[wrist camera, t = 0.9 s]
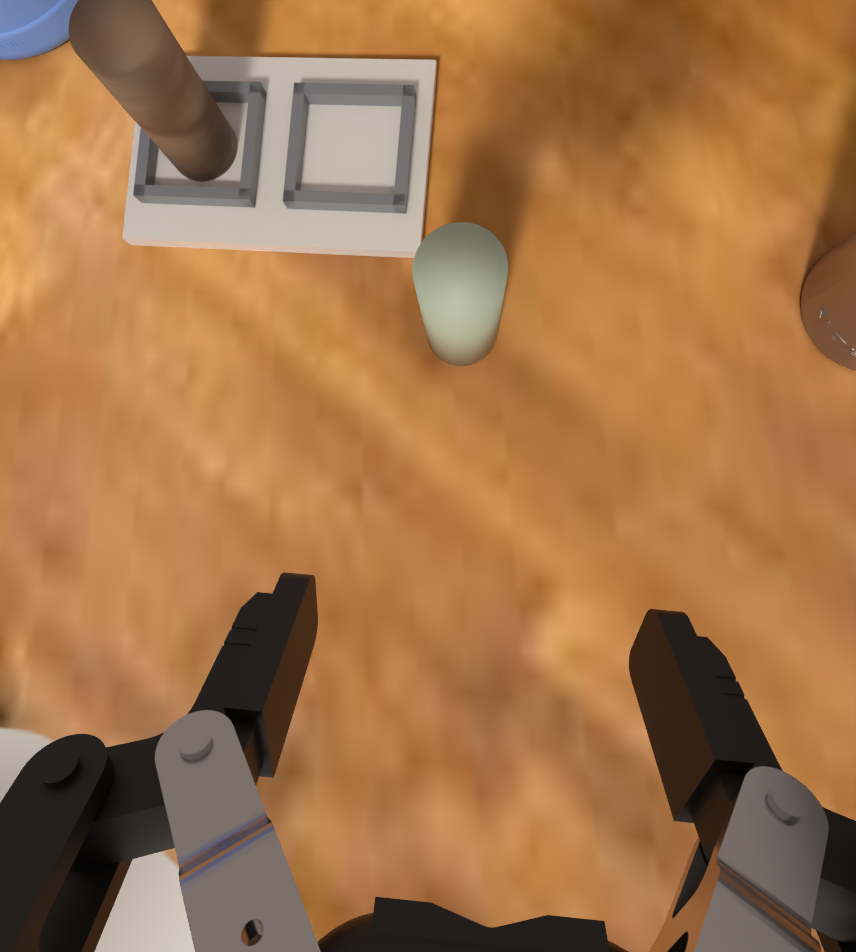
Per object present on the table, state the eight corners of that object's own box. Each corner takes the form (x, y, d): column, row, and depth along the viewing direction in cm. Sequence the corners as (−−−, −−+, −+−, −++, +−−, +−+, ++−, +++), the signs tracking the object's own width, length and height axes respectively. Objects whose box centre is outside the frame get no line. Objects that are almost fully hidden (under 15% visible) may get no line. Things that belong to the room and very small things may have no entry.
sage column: (470, 282, 37) (471, 203, 27) (511, 338, 37) (527, 277, 27) (413, 324, 38) (393, 259, 28) (453, 379, 37) (448, 334, 27)
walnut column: (213, 101, 39) (124, -38, 29) (250, 154, 38) (173, 30, 28) (158, 142, 39) (51, 18, 29) (195, 195, 38) (99, 87, 28)
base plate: (436, 71, 38) (435, 47, 36) (421, 258, 38) (418, 244, 36) (150, 66, 40) (134, 43, 38) (130, 244, 40) (113, 231, 38)
